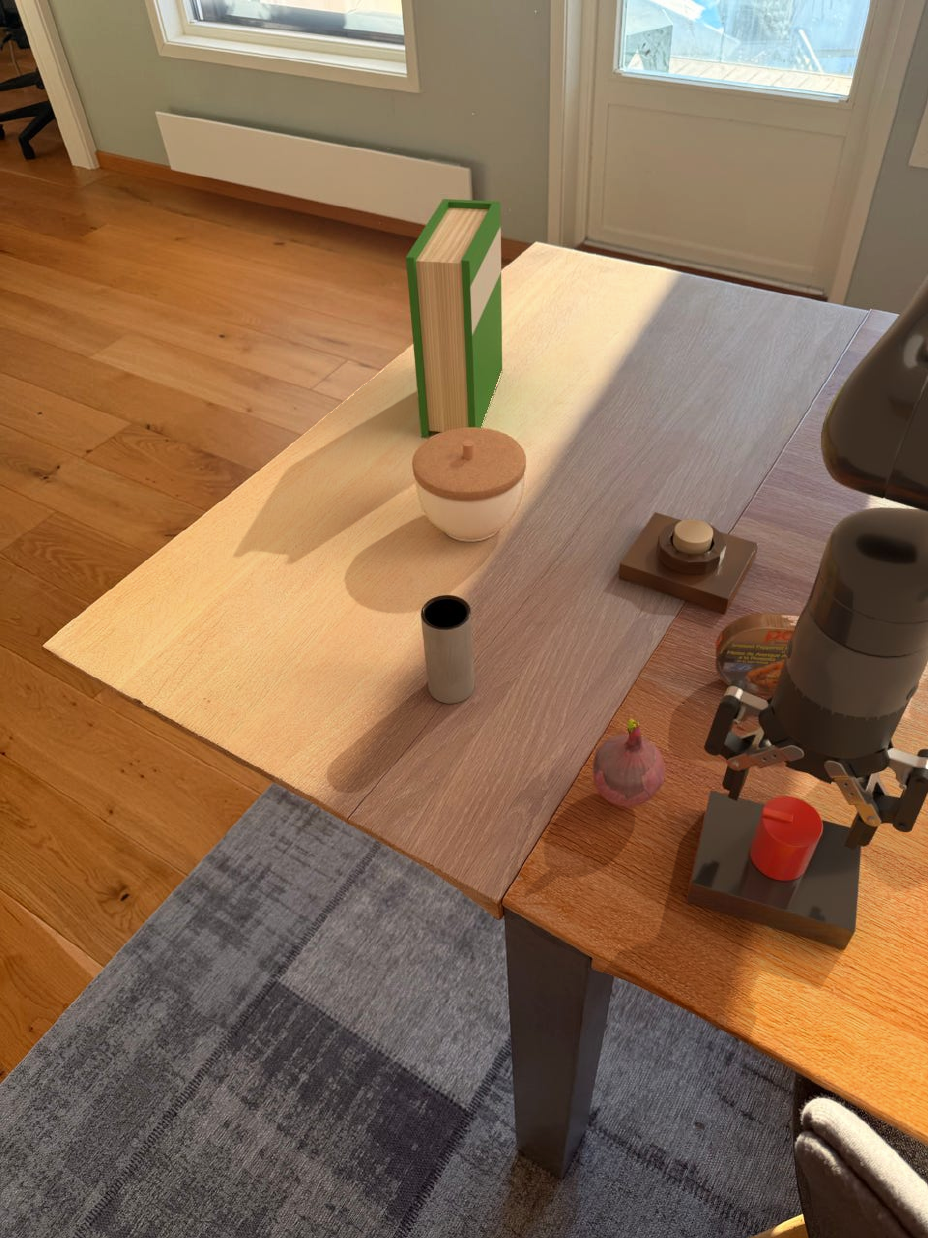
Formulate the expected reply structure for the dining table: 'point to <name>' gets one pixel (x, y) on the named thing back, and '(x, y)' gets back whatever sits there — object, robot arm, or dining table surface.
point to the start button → (692, 537)
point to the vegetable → (628, 768)
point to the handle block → (741, 890)
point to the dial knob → (785, 838)
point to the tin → (755, 650)
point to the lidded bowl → (469, 481)
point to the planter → (448, 648)
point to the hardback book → (456, 313)
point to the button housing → (688, 565)
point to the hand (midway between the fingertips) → (792, 814)
